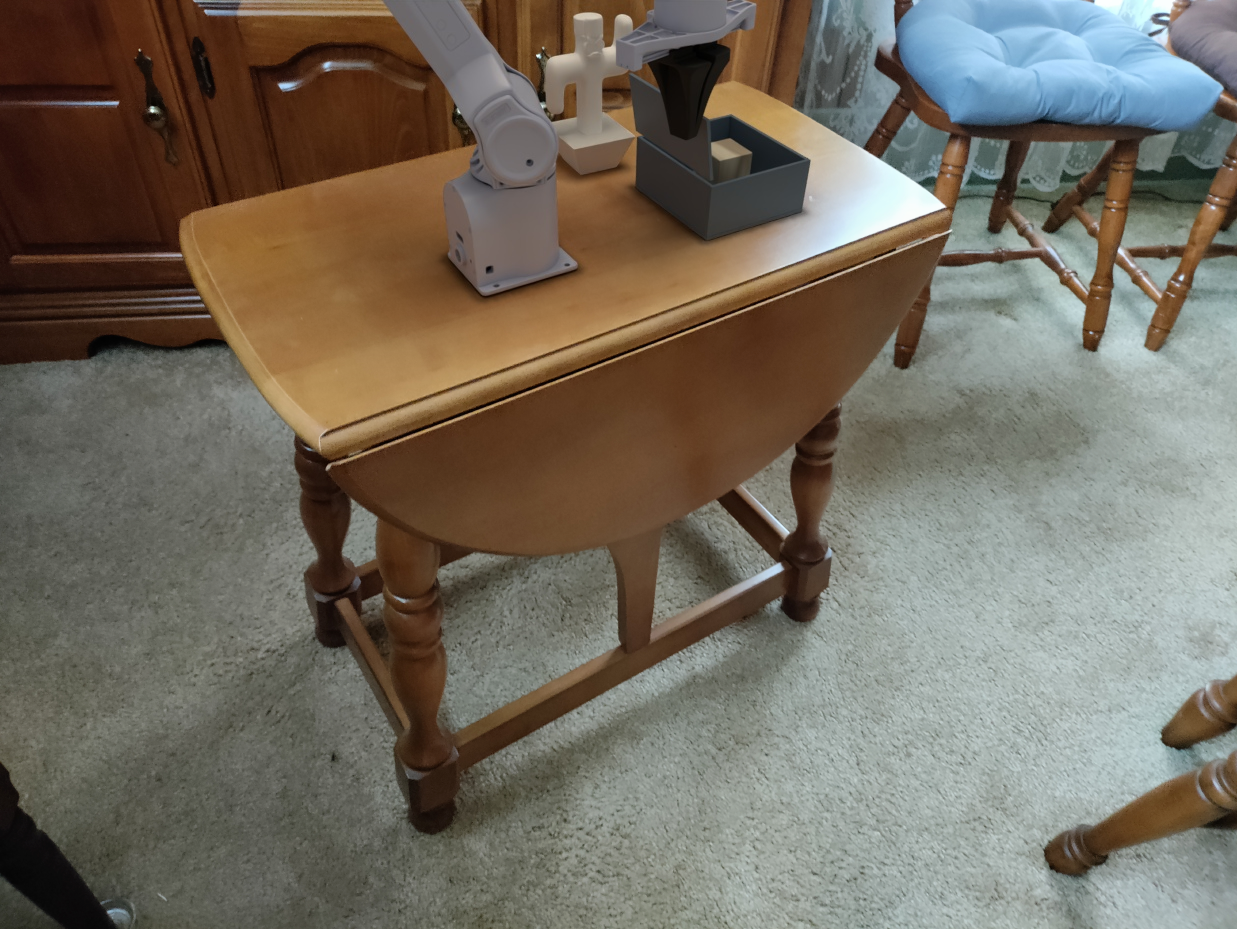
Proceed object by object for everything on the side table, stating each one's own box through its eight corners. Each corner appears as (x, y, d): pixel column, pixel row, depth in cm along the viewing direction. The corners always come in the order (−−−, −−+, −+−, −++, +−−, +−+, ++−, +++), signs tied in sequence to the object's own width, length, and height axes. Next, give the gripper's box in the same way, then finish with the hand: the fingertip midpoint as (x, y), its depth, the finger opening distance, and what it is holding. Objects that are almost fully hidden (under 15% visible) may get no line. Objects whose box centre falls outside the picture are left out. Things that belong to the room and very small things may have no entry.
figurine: (536, 158, 94) (528, 10, 84) (612, 142, 98) (613, -3, 87) (565, 185, 90) (560, 32, 80) (643, 167, 93) (649, 18, 83)
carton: (706, 240, 82) (711, 187, 78) (635, 187, 90) (636, 136, 86) (801, 211, 87) (811, 159, 83) (726, 163, 94) (731, 113, 91)
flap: (713, 179, 78) (710, 181, 78) (638, 129, 86) (635, 130, 86) (710, 119, 74) (706, 120, 74) (631, 72, 81) (628, 73, 81)
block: (730, 137, 89) (697, 145, 87) (752, 152, 86) (719, 160, 85) (726, 174, 91) (694, 182, 90) (748, 190, 89) (716, 198, 87)
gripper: (715, -69, 71) (703, 99, 80) (586, -35, 63) (590, 145, 73) (784, -53, 67) (763, 121, 77) (656, -15, 60) (650, 172, 69)
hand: (683, 135), depth 74 cm, fingers closed
